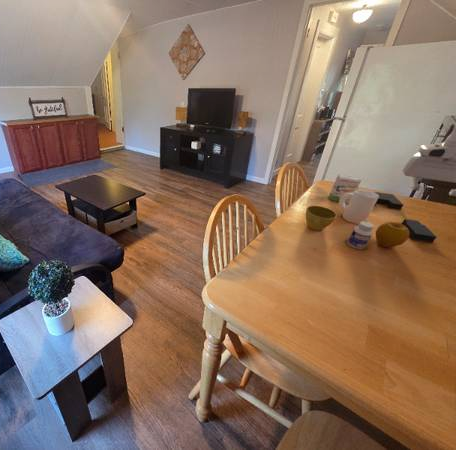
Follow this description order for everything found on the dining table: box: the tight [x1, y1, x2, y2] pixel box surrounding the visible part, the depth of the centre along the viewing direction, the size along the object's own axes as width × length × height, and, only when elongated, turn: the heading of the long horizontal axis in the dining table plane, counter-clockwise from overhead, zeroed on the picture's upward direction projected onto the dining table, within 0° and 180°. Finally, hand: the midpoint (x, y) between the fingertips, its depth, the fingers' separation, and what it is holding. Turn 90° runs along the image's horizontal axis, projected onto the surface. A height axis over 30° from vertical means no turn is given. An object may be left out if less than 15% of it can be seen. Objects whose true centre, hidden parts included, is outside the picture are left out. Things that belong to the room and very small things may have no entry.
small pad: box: [401, 218, 437, 243], centre depth 95 cm, size 6×12×2 cm, turn 159°
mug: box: [338, 188, 379, 225], centre depth 102 cm, size 8×12×12 cm
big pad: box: [373, 191, 404, 210], centre depth 118 cm, size 14×12×2 cm
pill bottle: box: [347, 221, 375, 250], centre depth 86 cm, size 5×5×9 cm
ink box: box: [328, 173, 362, 204], centre depth 116 cm, size 8×5×12 cm, turn 66°
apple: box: [375, 221, 410, 248], centre depth 86 cm, size 8×8×9 cm
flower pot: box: [305, 205, 338, 231], centre depth 96 cm, size 10×10×7 cm
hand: (433, 192), depth 83 cm, fingers open, 8 cm apart
